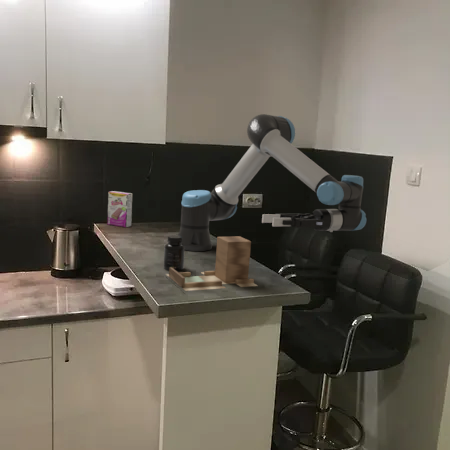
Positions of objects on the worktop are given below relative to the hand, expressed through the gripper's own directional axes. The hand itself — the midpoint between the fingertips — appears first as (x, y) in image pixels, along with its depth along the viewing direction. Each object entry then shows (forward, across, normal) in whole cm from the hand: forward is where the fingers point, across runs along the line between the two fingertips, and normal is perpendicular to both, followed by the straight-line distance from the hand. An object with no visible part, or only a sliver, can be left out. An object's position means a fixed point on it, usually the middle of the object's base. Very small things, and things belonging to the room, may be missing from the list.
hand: (267, 220), depth 162 cm
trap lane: (+19, 0, -20) cm, 27 cm away
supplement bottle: (+26, +15, -20) cm, 36 cm away
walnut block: (+12, 0, -19) cm, 22 cm away
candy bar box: (+25, +100, -20) cm, 105 cm away
